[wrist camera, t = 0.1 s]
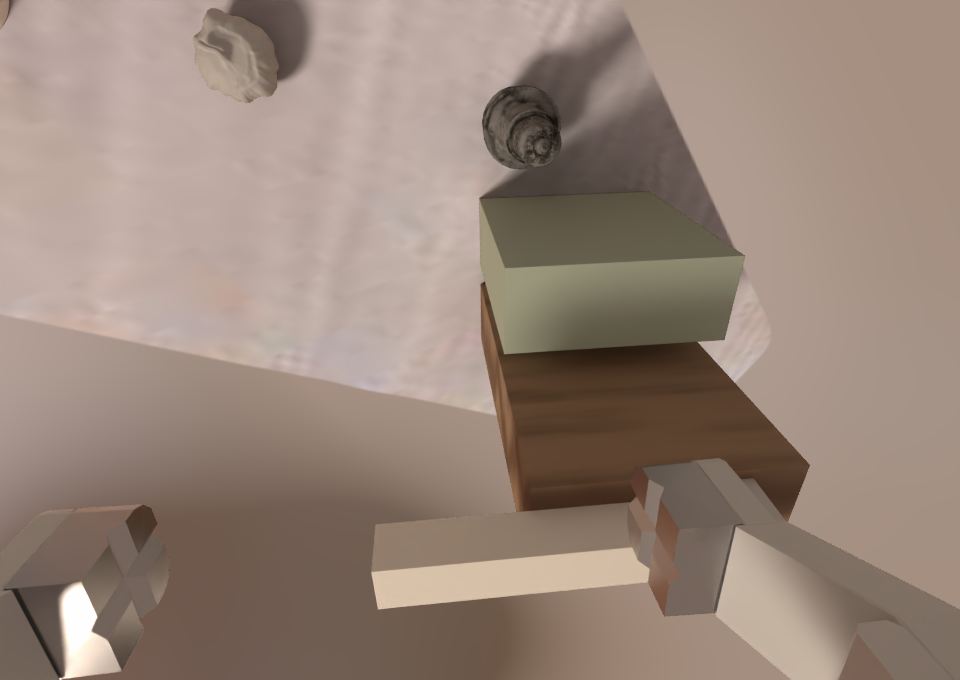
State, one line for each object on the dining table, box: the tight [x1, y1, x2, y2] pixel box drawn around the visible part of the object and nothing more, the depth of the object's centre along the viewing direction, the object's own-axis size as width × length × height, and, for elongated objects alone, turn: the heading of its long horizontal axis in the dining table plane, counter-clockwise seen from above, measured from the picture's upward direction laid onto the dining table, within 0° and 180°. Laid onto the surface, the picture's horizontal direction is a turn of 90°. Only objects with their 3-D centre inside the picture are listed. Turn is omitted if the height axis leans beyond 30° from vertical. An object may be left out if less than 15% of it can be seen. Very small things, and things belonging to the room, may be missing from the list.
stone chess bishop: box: [482, 86, 561, 169], centre depth 38 cm, size 6×6×12 cm
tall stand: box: [481, 284, 810, 522], centre depth 40 cm, size 6×15×26 cm, turn 91°
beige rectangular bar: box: [371, 478, 786, 609], centre depth 27 cm, size 5×20×3 cm, turn 91°
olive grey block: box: [479, 192, 745, 354], centre depth 41 cm, size 6×15×16 cm, turn 91°
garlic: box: [193, 8, 279, 103], centre depth 37 cm, size 6×5×5 cm
